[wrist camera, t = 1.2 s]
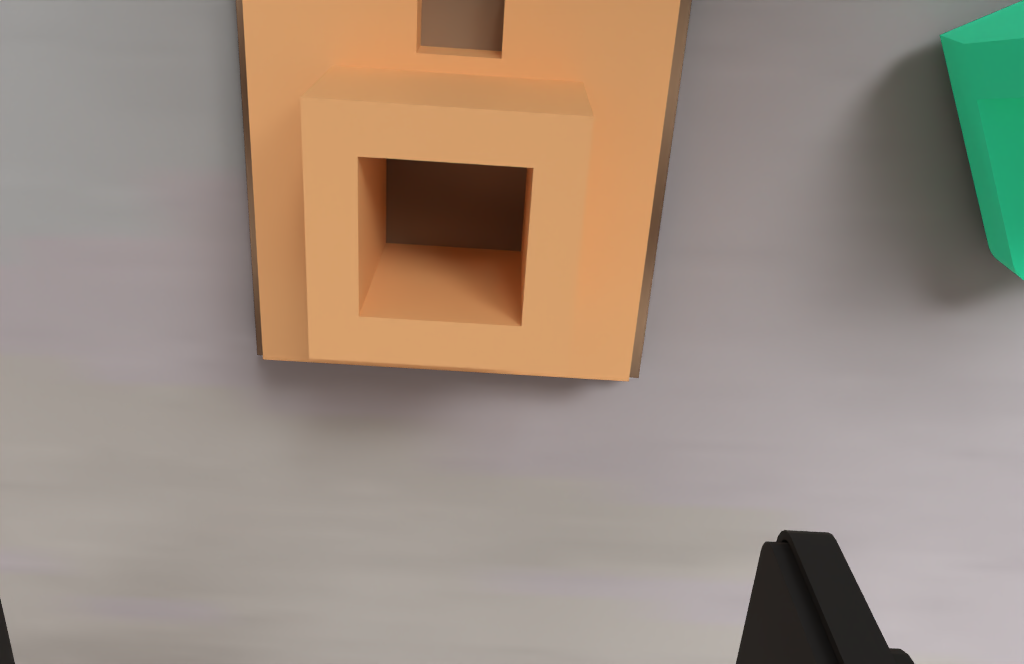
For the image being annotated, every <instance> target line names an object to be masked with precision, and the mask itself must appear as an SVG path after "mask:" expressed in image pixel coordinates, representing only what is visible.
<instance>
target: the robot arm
mask: <svg viewBox="0 0 1024 664" xmlns="http://www.w3.org/2000/svg"><path fill="white" fill-rule="evenodd" d="M0 664H15V662H14V657H13V653H12V648H11V644H10V639H9V635H8V631H7V626H6V622H5V617H4V613H3V608H2V604H1V599H0ZM736 664H914V662H913V661H912V659H911V658H910V656H909V655H908V654H907V653H905V652H904V651H903V650H901V649H892V648H889V647H888V645H887V643H886V641H885V639H884V637H883V635H882V633H881V631H880V629H879V627H878V625H877V623H876V621H875V619H874V617H873V615H872V613H871V611H870V608H869V606H868V604H867V602H866V600H865V598H864V596H863V594H862V592H861V590H860V588H859V586H858V584H857V582H856V580H855V578H854V576H853V574H852V572H851V570H850V568H849V566H848V563H847V561H846V559H845V557H844V555H843V553H842V551H841V549H840V547H839V545H838V543H837V541H836V539H835V538H834V536H833V535H832V534H830V533H826V532H808V531H789V530H784V531H782V532H781V533H780V534H779V536H778V538H777V541H776V542H765V543H764V544H763V546H762V549H761V553H760V557H759V562H758V567H757V571H756V576H755V580H754V585H753V589H752V594H751V598H750V603H749V607H748V612H747V616H746V621H745V625H744V630H743V634H742V639H741V643H740V648H739V652H738V657H737V661H736Z"/></svg>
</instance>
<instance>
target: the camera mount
mask: <svg viewBox="0 0 1024 664" xmlns="http://www.w3.org/2000/svg"><path fill="white" fill-rule="evenodd" d="M940 39H941V43H942V47H943V51H944V56H945V60H946V64H947V69H948V73H949V77H950V82H951V86H952V90H953V95H954V99H955V103H956V108H957V112H958V116H959V121H960V125H961V129H962V133H963V138H964V142H965V146H966V151H967V155H968V159H969V164H970V168H971V172H972V177H973V181H974V185H975V190H976V194H977V198H978V203H979V207H980V211H981V216H982V220H983V224H984V228H985V233H986V237H987V241H988V246H989V249H990V251H991V253H992V255H993V256H994V257H995V258H996V259H997V260H998V261H1000V262H1001V263H1002V264H1003V265H1005V266H1006V267H1007V268H1009V269H1010V270H1011V271H1012V272H1014V273H1015V274H1016V275H1018V276H1019V277H1020V278H1021V279H1023V280H1024V0H1023V1H1020V2H1018V3H1015V4H1013V5H1011V6H1008V7H1006V8H1003V9H1001V10H999V11H996V12H994V13H992V14H989V15H987V16H984V17H982V18H980V19H977V20H975V21H972V22H970V23H968V24H965V25H963V26H960V27H958V28H956V29H953V30H951V31H948V32H946V33H944V34H941V35H940Z"/></svg>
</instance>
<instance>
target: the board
mask: <svg viewBox="0 0 1024 664" xmlns="http://www.w3.org/2000/svg"><path fill="white" fill-rule="evenodd" d="M691 2H692V0H680V8H679V15H678V22H677V30H676V37H675V45H674V52H673V59H672V67H671V74H670V81H669V89H668V96H667V103H666V111H665V118H664V126H663V133H662V140H661V148H660V155H659V162H658V170H657V177H656V184H655V192H654V199H653V207H652V214H651V221H650V229H649V236H648V243H647V251H646V258H645V265H644V273H643V280H642V287H641V295H640V302H639V310H638V317H637V324H636V332H635V339H634V346H633V354H632V361H631V368H630V376H629V377H633V378H639V371H640V364H641V357H642V350H643V343H644V336H645V329H646V321H647V314H648V307H649V300H650V293H651V286H652V279H653V272H654V265H655V258H656V250H657V243H658V236H659V229H660V222H661V215H662V208H663V201H664V194H665V187H666V179H667V172H668V165H669V158H670V151H671V144H672V137H673V130H674V123H675V115H676V108H677V101H678V94H679V87H680V80H681V73H682V66H683V59H684V52H685V44H686V37H687V30H688V23H689V16H690V9H691ZM504 8H505V0H422V8H421V46H431V47H446V48H461V49H475V50H490V51H502V42H503V25H504ZM236 11H237V28H238V44H239V61H240V77H241V94H242V110H243V127H244V143H245V160H246V176H247V193H248V209H249V226H250V242H251V258H252V275H253V291H254V308H255V324H256V341H257V355H263V349H262V332H261V315H260V297H259V280H258V263H257V245H256V228H255V211H254V194H253V176H252V159H251V142H250V124H249V107H248V90H247V72H246V55H245V38H244V21H243V3H242V0H236ZM526 177H527V168H526V167H511V166H496V165H480V164H465V163H449V162H434V161H419V160H403V159H388V158H386V243H397V244H413V245H429V246H444V247H460V248H476V249H492V250H508V251H521V245H522V231H523V217H524V204H525V190H526Z"/></svg>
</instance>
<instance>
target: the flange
mask: <svg viewBox="0 0 1024 664" xmlns="http://www.w3.org/2000/svg"><path fill="white" fill-rule="evenodd" d="M242 3H243V21H244V38H245V55H246V72H247V90H248V107H249V124H250V142H251V159H252V176H253V194H254V211H255V228H256V245H257V263H258V280H259V297H260V315H261V332H262V349H263V359H266V360H283V361H299V362H316V363H333V364H349V365H366V366H382V367H399V368H416V369H432V370H449V371H466V372H482V373H499V374H516V375H532V376H549V377H566V378H582V379H599V380H615V381H629V376H630V368H631V361H632V354H633V346H634V339H635V332H636V324H637V317H638V310H639V302H640V295H641V287H642V280H643V273H644V265H645V258H646V251H647V243H648V236H649V229H650V221H651V214H652V207H653V199H654V192H655V184H656V177H657V170H658V162H659V155H660V148H661V140H662V133H663V126H664V118H665V111H666V103H667V96H668V89H669V81H670V74H671V67H672V59H673V52H674V45H675V37H676V30H677V22H678V15H679V8H680V0H505V8H504V25H503V42H502V51H490V50H475V49H461V48H446V47H431V46H421V8H422V0H242ZM386 158H388V159H403V160H419V161H434V162H449V163H465V164H480V165H496V166H511V167H526V168H527V177H526V190H525V204H524V217H523V231H522V245H521V251H508V250H492V249H476V248H460V247H444V246H429V245H413V244H397V243H386Z"/></svg>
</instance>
